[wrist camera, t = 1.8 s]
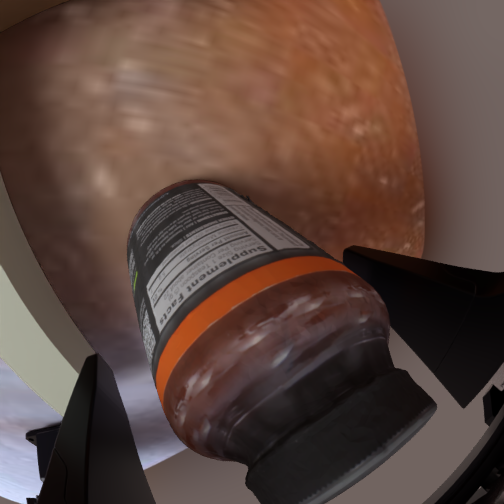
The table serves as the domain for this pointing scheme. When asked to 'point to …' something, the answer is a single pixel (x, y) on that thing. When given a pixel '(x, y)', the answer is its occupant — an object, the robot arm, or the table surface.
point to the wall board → (34, 291)
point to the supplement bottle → (266, 346)
